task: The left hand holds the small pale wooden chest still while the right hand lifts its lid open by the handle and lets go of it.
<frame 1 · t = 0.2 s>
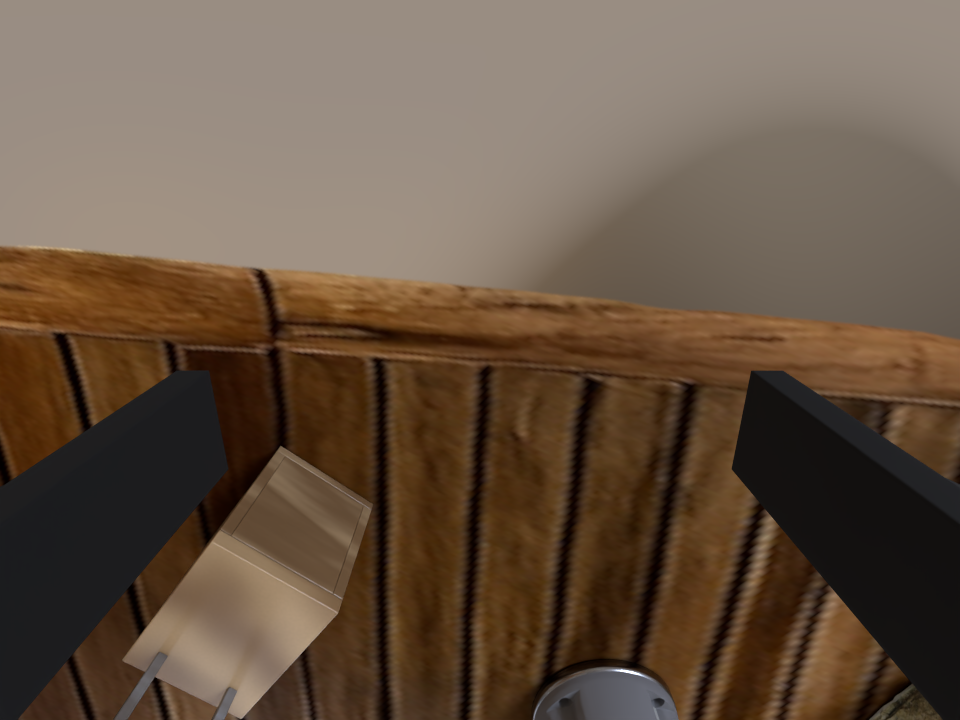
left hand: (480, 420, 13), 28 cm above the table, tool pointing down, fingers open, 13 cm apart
fossil: (905, 714, 56), on the table
chest: (290, 522, 47), on the table
lid: (202, 682, 33), point 16 cm above the table, hinge at 0.0°
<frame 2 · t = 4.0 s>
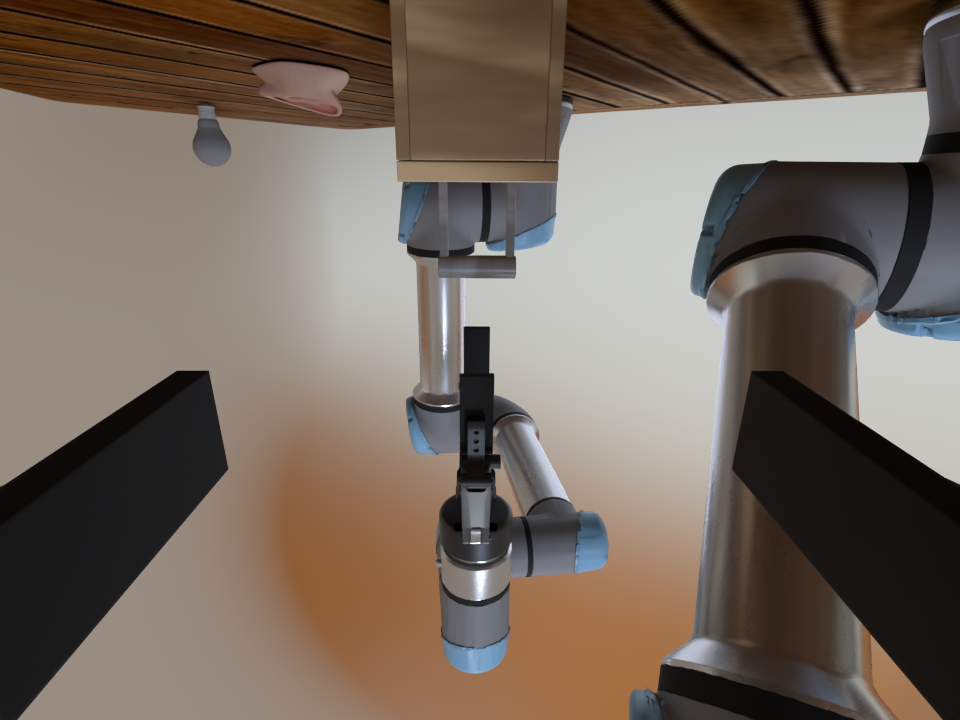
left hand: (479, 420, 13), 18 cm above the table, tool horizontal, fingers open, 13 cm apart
anatomical model: (303, 71, 61), on the table
light bulb: (205, 102, 87), on the table
lid: (477, 228, 38), point 16 cm above the table, hinge at 0.0°
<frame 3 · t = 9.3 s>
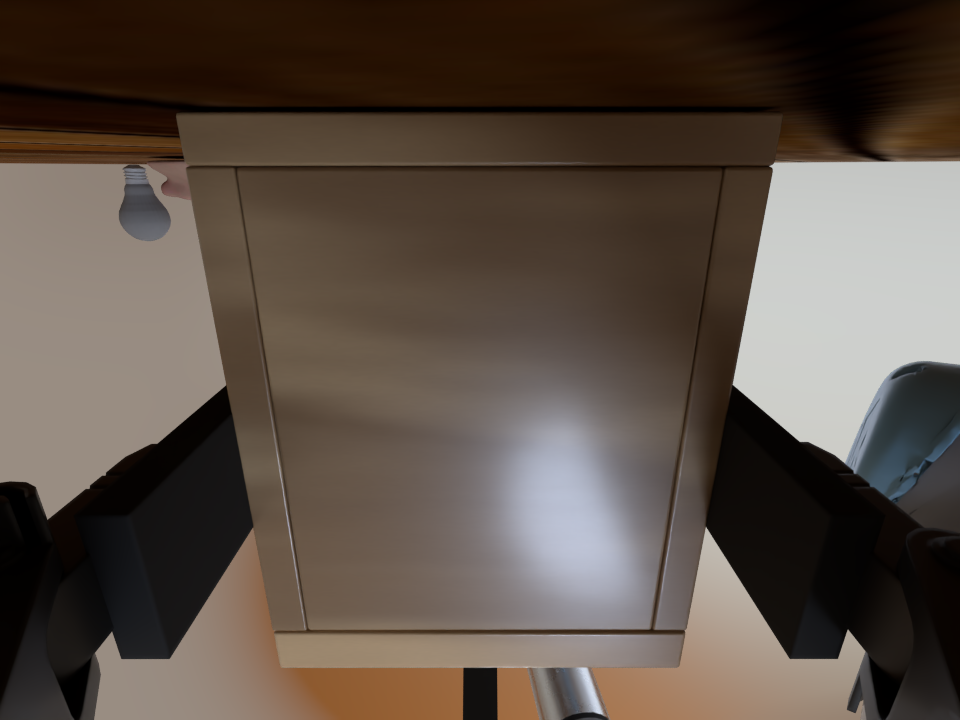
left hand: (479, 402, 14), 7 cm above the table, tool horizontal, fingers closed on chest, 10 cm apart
anatomical model: (228, 158, 42), on the table
chest: (479, 135, 14), on the table, touching left hand
light bulb: (132, 163, 68), on the table
lid: (479, 573, 20), point 16 cm above the table, hinge at 0.0°
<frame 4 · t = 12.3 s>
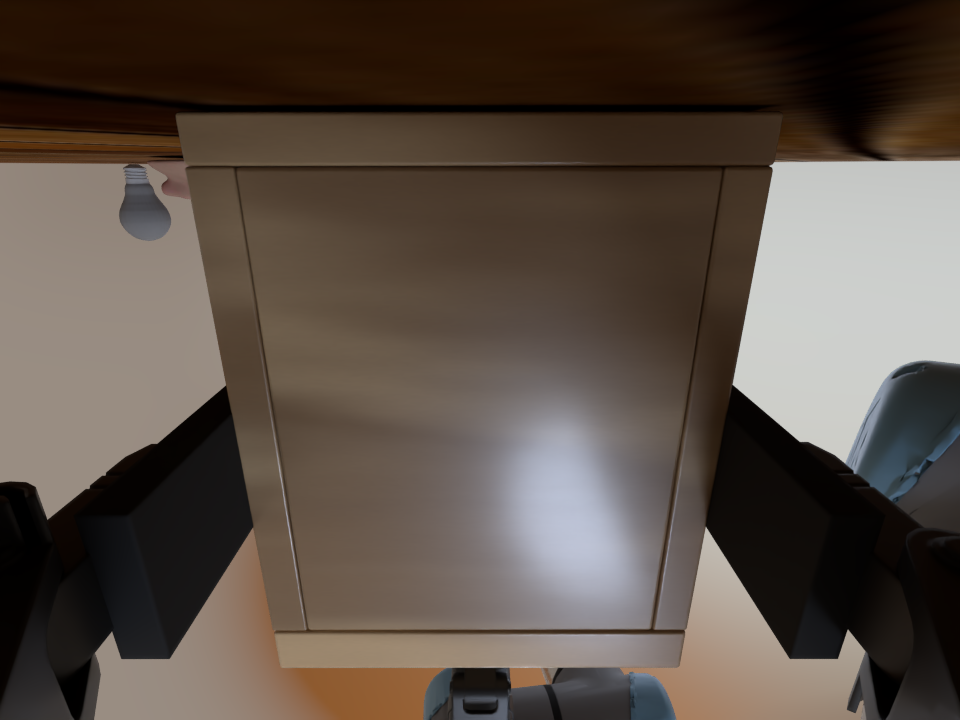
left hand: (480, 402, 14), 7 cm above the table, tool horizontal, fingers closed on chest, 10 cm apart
anatomical model: (228, 158, 42), on the table
chest: (479, 135, 14), on the table, touching left hand
light bulb: (133, 162, 68), on the table
lid: (479, 574, 20), point 16 cm above the table, hinge at 0.6°, touching right hand
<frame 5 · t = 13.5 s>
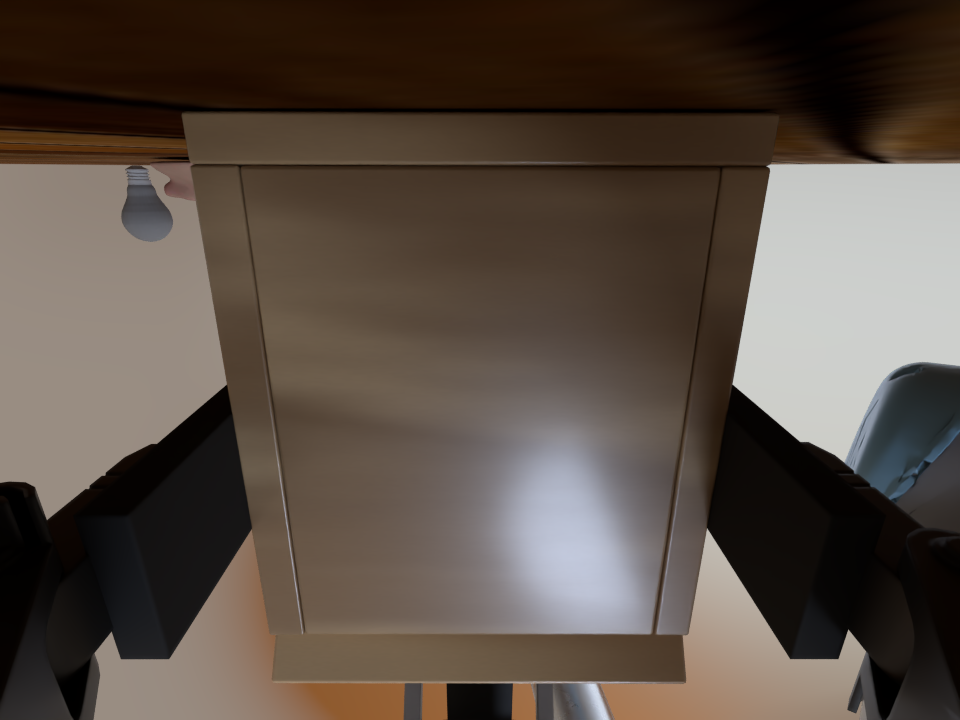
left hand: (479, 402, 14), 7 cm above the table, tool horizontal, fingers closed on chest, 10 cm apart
anatomical model: (230, 159, 43), on the table
chest: (480, 142, 14), on the table, touching left hand
light bulb: (135, 164, 69), on the table
lid: (478, 717, 18), point 19 cm above the table, hinge at 32.3°, touching right hand
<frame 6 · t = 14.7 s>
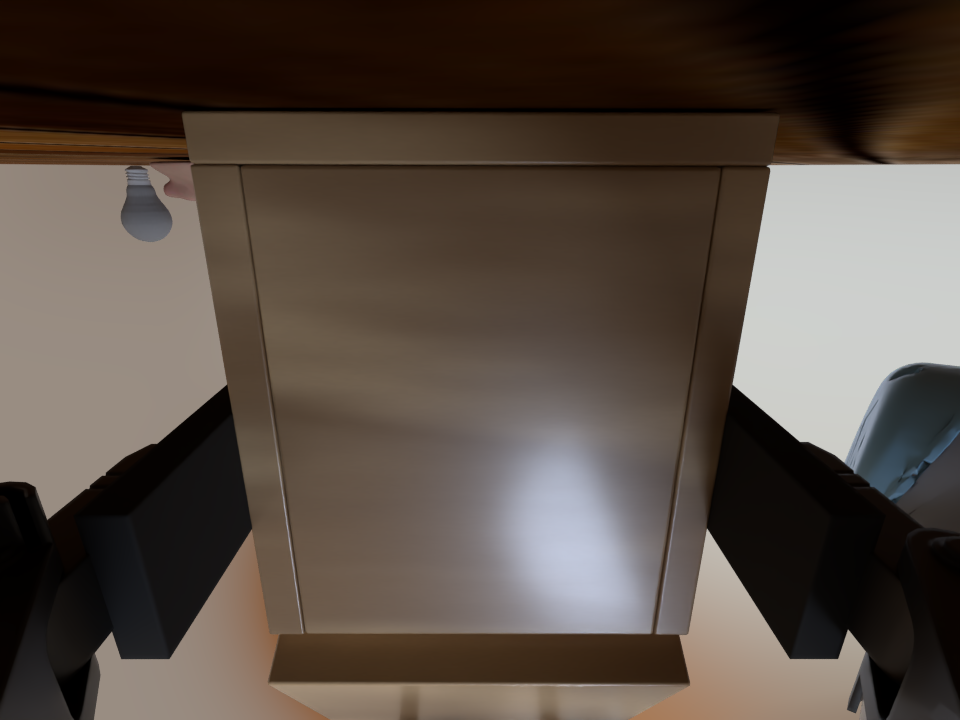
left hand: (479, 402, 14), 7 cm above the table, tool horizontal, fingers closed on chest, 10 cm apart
anatomical model: (230, 160, 43), on the table
chest: (480, 141, 14), on the table, touching left hand
light bulb: (135, 164, 69), on the table
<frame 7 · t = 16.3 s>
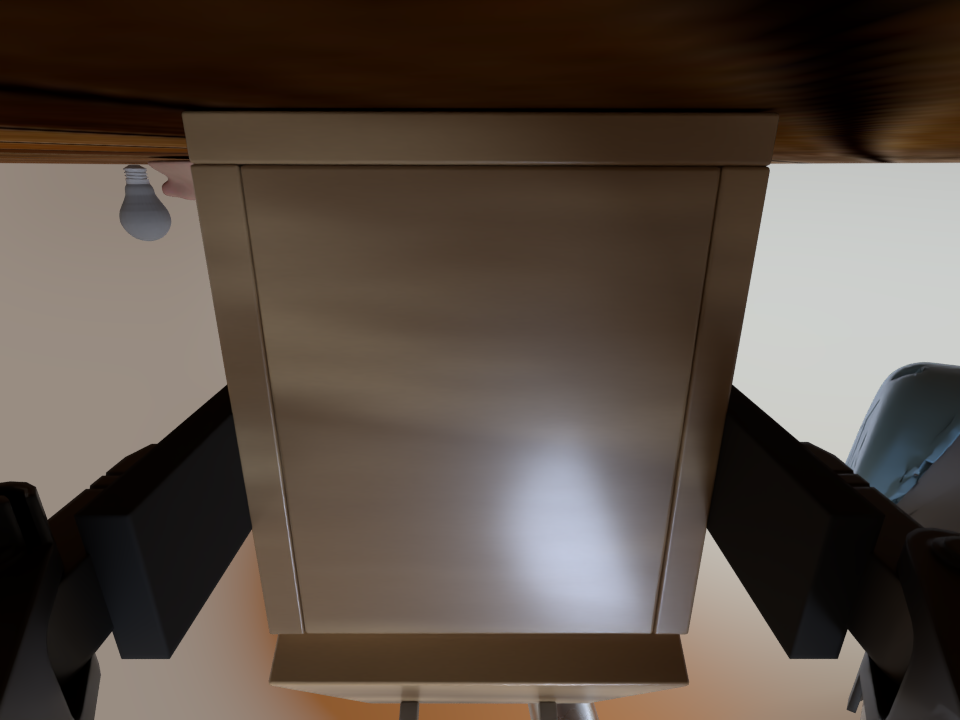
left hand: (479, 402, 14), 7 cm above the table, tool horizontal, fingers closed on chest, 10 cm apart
anatomical model: (228, 159, 42), on the table
chest: (480, 141, 14), on the table, touching left hand
light bulb: (133, 163, 68), on the table
when the left hand's fingers open (7 cm above the table, at t = 18.9 s): chest stays where it is, on the table.
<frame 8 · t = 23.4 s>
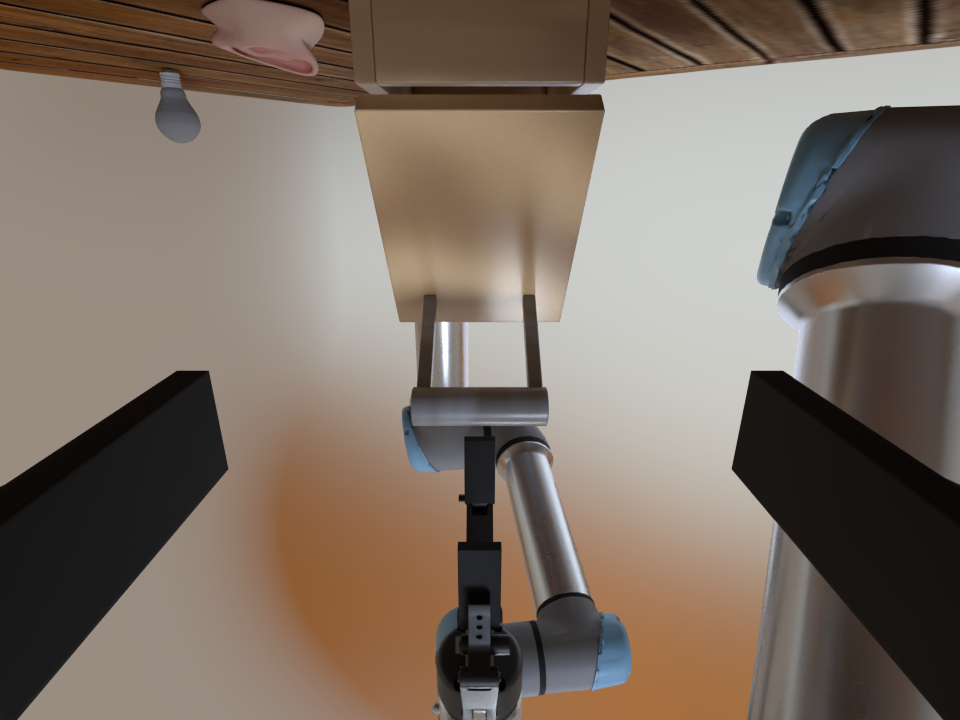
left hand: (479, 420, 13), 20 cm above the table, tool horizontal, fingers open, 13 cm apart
anatomical model: (266, 16, 50), on the table
light bulb: (168, 68, 76), on the table
lid: (479, 291, 24), point 19 cm above the table, hinge at 53.7°
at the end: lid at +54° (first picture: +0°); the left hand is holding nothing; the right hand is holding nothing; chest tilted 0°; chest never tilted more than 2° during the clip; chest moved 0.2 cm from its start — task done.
